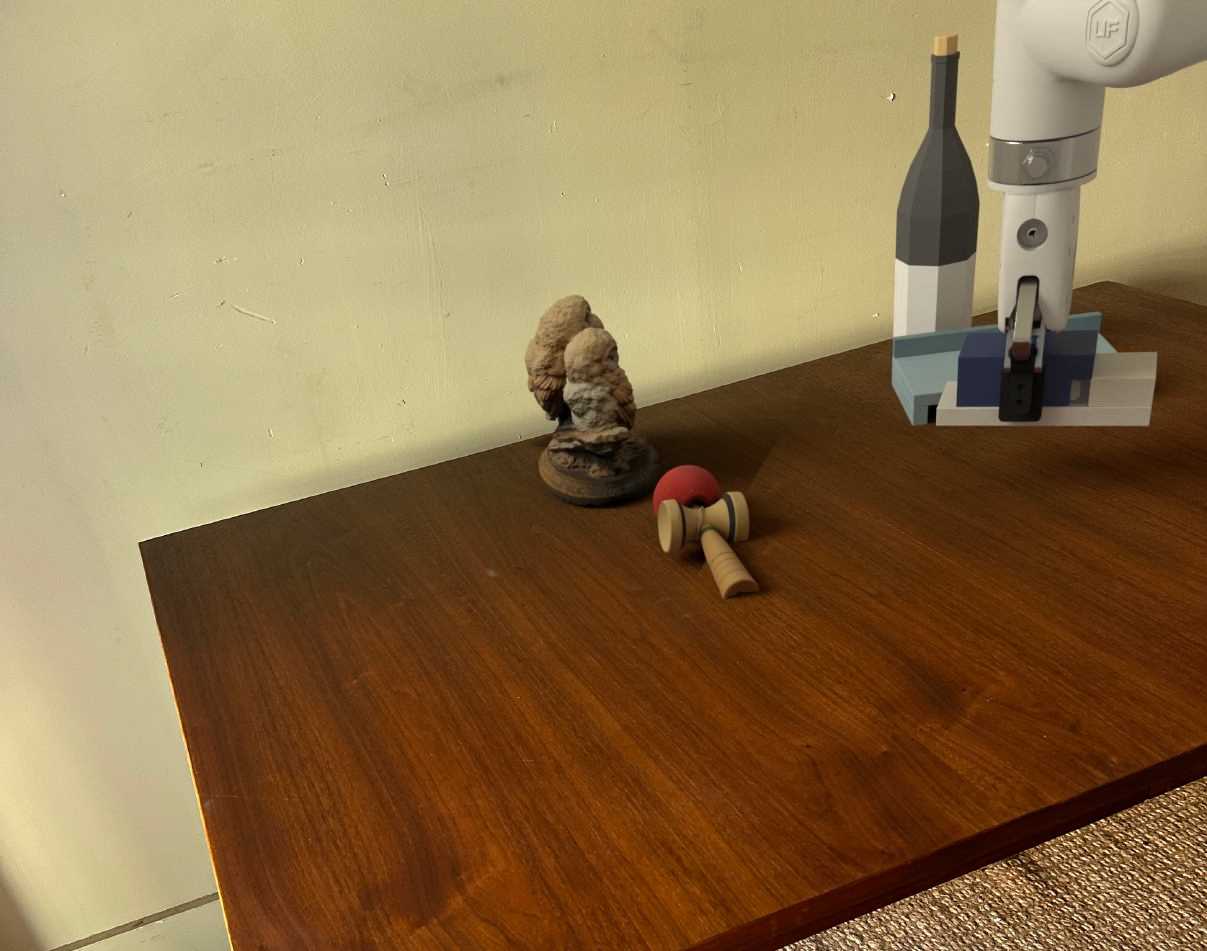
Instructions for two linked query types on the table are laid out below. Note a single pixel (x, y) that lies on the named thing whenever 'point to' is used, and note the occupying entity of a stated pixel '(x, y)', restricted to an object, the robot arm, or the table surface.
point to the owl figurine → (587, 410)
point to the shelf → (950, 362)
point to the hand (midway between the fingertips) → (1023, 401)
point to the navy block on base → (1053, 383)
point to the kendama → (704, 523)
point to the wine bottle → (937, 216)
